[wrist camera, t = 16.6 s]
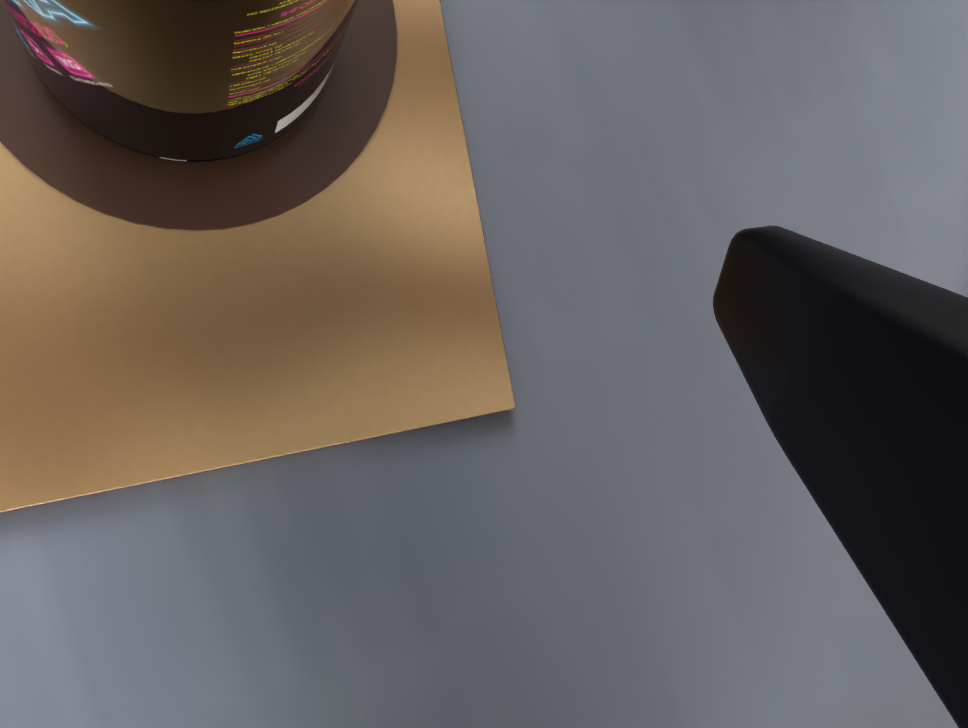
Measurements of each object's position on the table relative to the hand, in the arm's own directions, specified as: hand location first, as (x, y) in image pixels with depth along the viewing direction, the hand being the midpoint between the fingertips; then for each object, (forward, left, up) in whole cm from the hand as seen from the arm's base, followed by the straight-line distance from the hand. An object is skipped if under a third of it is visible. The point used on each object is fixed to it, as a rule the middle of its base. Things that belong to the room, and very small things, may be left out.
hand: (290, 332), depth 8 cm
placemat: (+2, -8, -14) cm, 16 cm away
